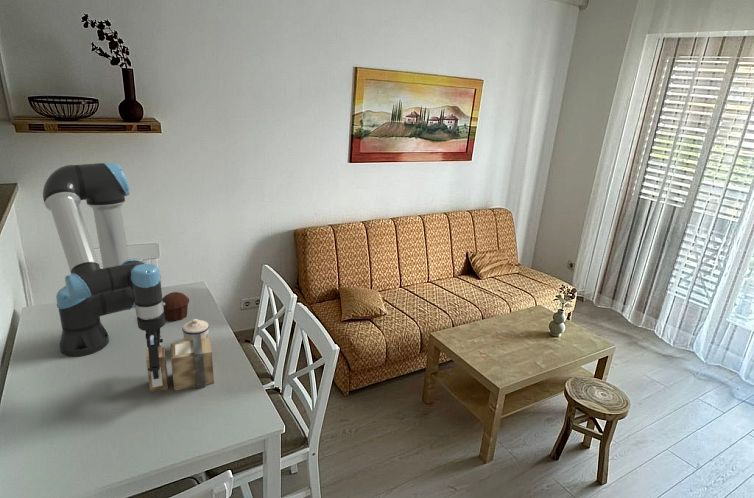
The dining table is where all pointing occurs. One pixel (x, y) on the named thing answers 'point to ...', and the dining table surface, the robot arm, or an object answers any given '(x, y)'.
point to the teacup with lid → (195, 329)
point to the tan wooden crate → (192, 363)
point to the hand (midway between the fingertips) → (158, 373)
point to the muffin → (175, 306)
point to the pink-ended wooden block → (163, 371)
